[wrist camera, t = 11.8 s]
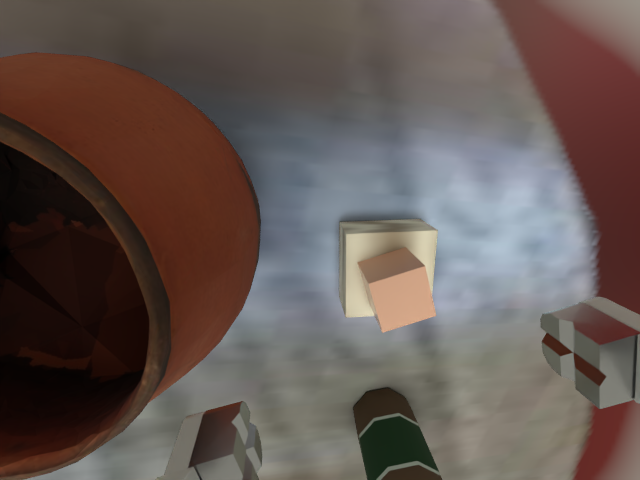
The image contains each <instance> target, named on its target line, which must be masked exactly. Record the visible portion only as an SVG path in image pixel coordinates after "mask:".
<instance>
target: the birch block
mask: <svg viewBox="0 0 640 480" xmlns="http://www.w3.org/2000/svg"><path fill="white" fill-rule="evenodd" d="M437 233H438V230H436V229H435V228H433V227H432V226H430V225H429V224H427V223H426V222H424V221H423V220H421V219H404V220H377V221H350V222H339V297H340V300H341V304H342V307H343V310H344V314H345V317H346V318H347V317H364V316H374V313H373V311H372V309H371V307H370V305H369V301H368V298H367V294H366V291H365V287H364V284H363V281H362V277H361V274H360V270H359V267H358V264H357V262H361V261H364V260H367V259H370V258H373V257H376V256H379V255H382V254H386V253H389V252H392V251H395V250H398V249H401V248H404V247H406V248H407V249H408V250H409V251H410V252H411V253H412V254H413V255H414V256H415V257H417V258H418V259H419V260H420V261H421V262H422V263H423V264H424V265H425V267H426V272H427V276H428V281H429V285H430V290H431V294H432V288H433V277H434V266H435V255H436V244H437Z"/></svg>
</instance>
